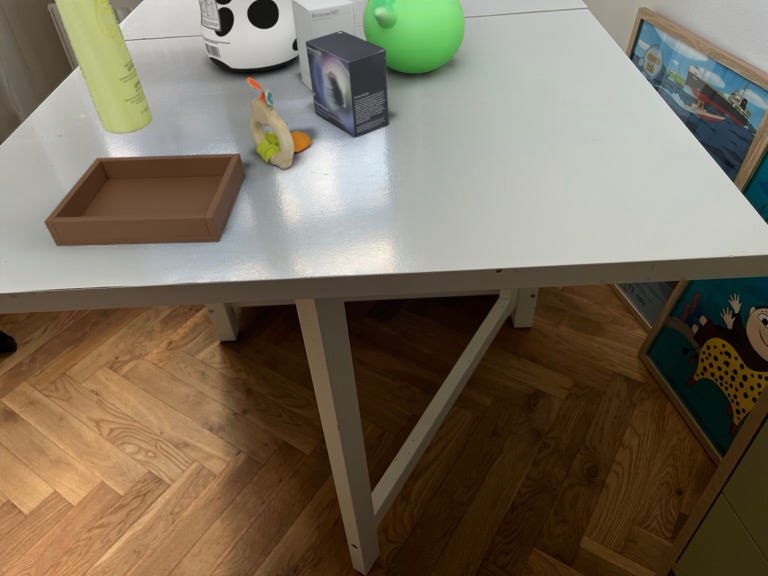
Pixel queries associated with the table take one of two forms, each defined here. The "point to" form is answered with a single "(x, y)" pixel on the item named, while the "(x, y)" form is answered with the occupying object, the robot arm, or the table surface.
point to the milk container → (248, 33)
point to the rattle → (276, 144)
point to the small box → (349, 82)
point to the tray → (149, 200)
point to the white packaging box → (319, 25)
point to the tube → (105, 64)
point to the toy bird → (415, 32)
